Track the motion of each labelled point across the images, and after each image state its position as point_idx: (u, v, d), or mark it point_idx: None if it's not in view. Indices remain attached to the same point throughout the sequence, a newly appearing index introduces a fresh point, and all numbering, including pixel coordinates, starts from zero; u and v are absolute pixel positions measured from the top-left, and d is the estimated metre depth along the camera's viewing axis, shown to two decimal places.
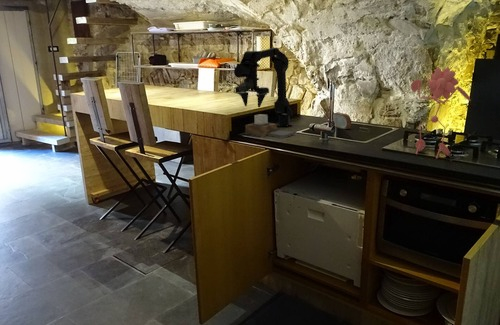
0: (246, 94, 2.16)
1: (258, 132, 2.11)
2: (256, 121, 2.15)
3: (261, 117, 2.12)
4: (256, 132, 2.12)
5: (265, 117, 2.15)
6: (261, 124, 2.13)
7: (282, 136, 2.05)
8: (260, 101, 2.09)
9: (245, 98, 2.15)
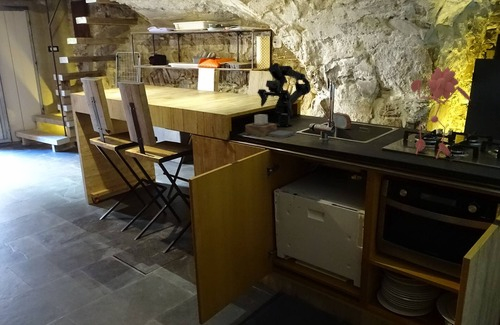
0: (265, 99, 2.26)
1: (258, 132, 2.11)
2: (256, 121, 2.15)
3: (261, 117, 2.12)
4: (256, 132, 2.12)
5: (265, 117, 2.15)
6: (261, 124, 2.13)
7: (282, 136, 2.05)
8: (279, 102, 2.19)
9: (263, 100, 2.25)
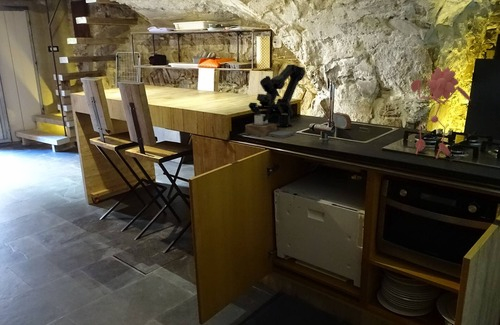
0: (259, 112, 2.20)
1: (258, 132, 2.11)
2: (256, 121, 2.15)
3: (261, 117, 2.12)
4: (256, 132, 2.12)
5: None
6: (261, 124, 2.13)
7: (282, 136, 2.05)
8: (267, 116, 2.14)
9: None
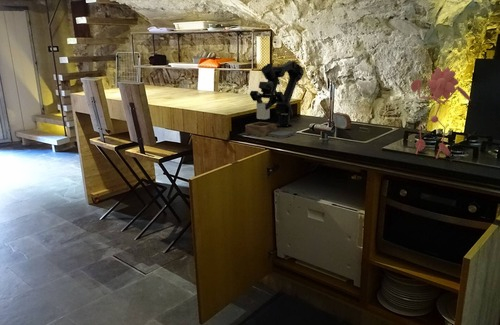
0: (261, 101, 2.17)
1: (258, 132, 2.11)
2: (258, 109, 2.12)
3: (263, 105, 2.10)
4: (256, 132, 2.12)
5: None
6: (263, 112, 2.11)
7: (282, 136, 2.05)
8: (270, 104, 2.11)
9: (259, 102, 2.15)
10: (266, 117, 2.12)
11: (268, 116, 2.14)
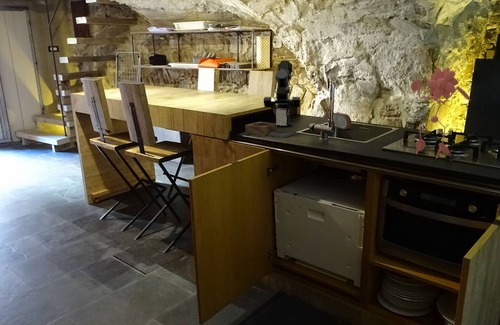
0: None
1: (258, 132, 2.11)
2: (278, 116, 2.07)
3: (284, 111, 2.06)
4: (256, 132, 2.12)
5: None
6: (284, 118, 2.06)
7: (282, 136, 2.05)
8: (288, 110, 2.08)
9: None
10: (286, 123, 2.09)
11: (286, 122, 2.11)
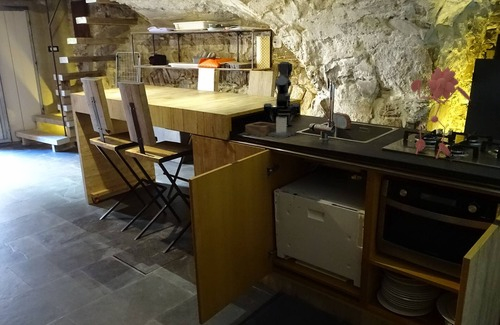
0: None
1: (258, 132, 2.11)
2: (278, 124, 2.08)
3: (284, 119, 2.07)
4: (256, 132, 2.12)
5: (286, 119, 2.10)
6: (284, 126, 2.08)
7: (282, 136, 2.05)
8: (291, 116, 2.09)
9: None
10: (286, 131, 2.10)
11: (286, 130, 2.12)
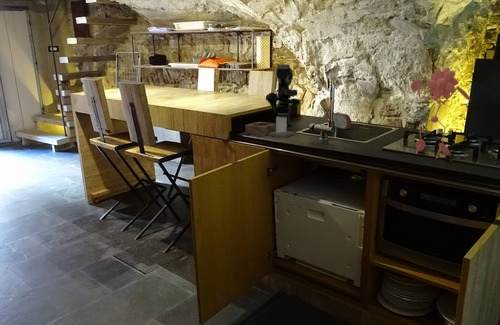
0: None
1: (258, 132, 2.11)
2: (278, 124, 2.08)
3: (284, 119, 2.07)
4: (256, 132, 2.12)
5: (286, 119, 2.10)
6: (284, 126, 2.08)
7: (282, 136, 2.05)
8: None
9: None
10: (286, 131, 2.10)
11: (286, 130, 2.12)
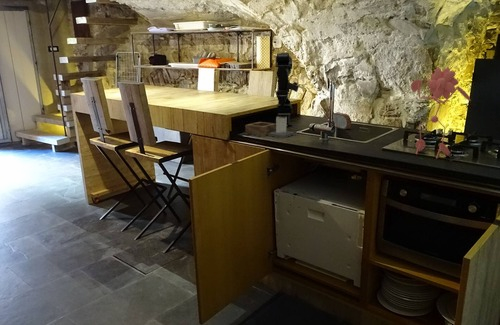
0: None
1: (258, 132, 2.11)
2: (278, 124, 2.08)
3: (284, 119, 2.07)
4: (256, 132, 2.12)
5: (286, 119, 2.10)
6: (284, 126, 2.08)
7: (282, 136, 2.05)
8: None
9: None
10: (286, 131, 2.10)
11: (286, 130, 2.12)
